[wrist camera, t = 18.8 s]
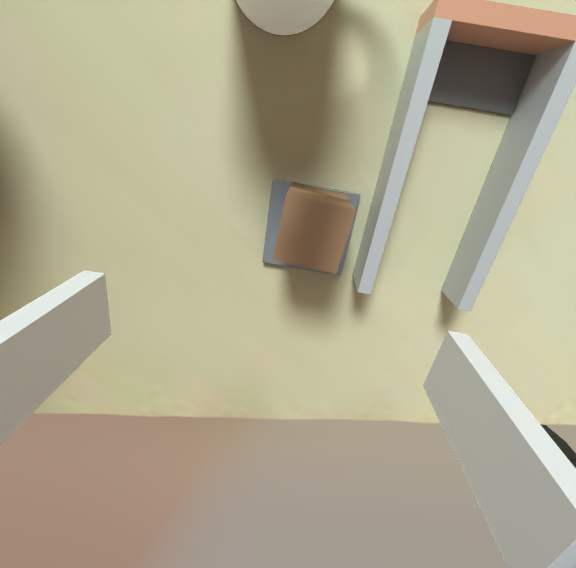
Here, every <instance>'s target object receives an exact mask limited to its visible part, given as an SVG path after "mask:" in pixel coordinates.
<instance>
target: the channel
mask: <svg viewBox="0 0 576 568" xmlns="http://www.w3.org/2000/svg"><path fill="white" fill-rule="evenodd" d="M575 84H576V16H575V15H569V14H563V13H557V12H551V11H545V10H539V9H533V8H527V7H521V6H515V5H509V4H503V3H497V2H491V1H485V0H434V1H433V2H432V3H431V5H430V6H429V7H428V8H427V9H426V10H425V12H424V13H423V14H422V15H421V17H420V20H419V24H418V28H417V32H416V36H415V39H414V43H413V47H412V51H411V55H410V58H409V62H408V66H407V70H406V74H405V78H404V81H403V85H402V89H401V93H400V97H399V100H398V104H397V108H396V112H395V116H394V120H393V123H392V127H391V131H390V135H389V139H388V142H387V146H386V150H385V154H384V158H383V161H382V165H381V169H380V173H379V177H378V181H377V184H376V188H375V192H374V196H373V200H372V203H371V207H370V211H369V215H368V219H367V222H366V226H365V230H364V234H363V238H362V242H361V245H360V249H359V253H358V257H357V261H356V264H355V268H354V272H353V278H354V282H355V285H356V289H357V292H359V293H365V294H371V291H372V288H373V285H374V281H375V278H376V275H377V271H378V268H379V265H380V261H381V258H382V254H383V251H384V248H385V244H386V241H387V238H388V234H389V231H390V228H391V224H392V221H393V217H394V214H395V211H396V207H397V204H398V201H399V197H400V194H401V191H402V187H403V184H404V180H405V177H406V174H407V170H408V167H409V164H410V160H411V157H412V154H413V150H414V147H415V143H416V140H417V137H418V133H419V130H420V127H421V123H422V120H423V117H424V113H425V110H426V106H427V103H428V101H430V102H436V103H442V104H448V105H454V106H460V107H466V108H471V109H477V110H483V111H489V112H495V113H501V114H507V115H512V116H511V118H510V121H509V123H508V126H507V128H506V131H505V133H504V136H503V138H502V141H501V143H500V146H499V148H498V151H497V153H496V156H495V158H494V161H493V163H492V166H491V168H490V170H489V173H488V175H487V178H486V180H485V183H484V185H483V188H482V190H481V193H480V195H479V198H478V200H477V203H476V205H475V208H474V210H473V213H472V215H471V218H470V220H469V223H468V225H467V228H466V230H465V233H464V235H463V238H462V240H461V243H460V245H459V248H458V250H457V253H456V255H455V257H454V260H453V262H452V265H451V267H450V270H449V272H448V275H447V277H446V280H445V282H444V285H443V287H442V290H441V291H442V292H443V293H444V294H445V295H446V296H447V298H448V299H449V300H450V301H451V302H452V303H453V305H454V306H455V307H456V308H457V309H458V310H464V311H470V312H471V310H472V307H473V305H474V303H475V301H476V299H477V297H478V294H479V292H480V290H481V288H482V286H483V283H484V281H485V279H486V277H487V275H488V273H489V270H490V268H491V266H492V264H493V262H494V260H495V257H496V255H497V253H498V251H499V249H500V247H501V244H502V242H503V240H504V238H505V236H506V234H507V231H508V229H509V227H510V225H511V223H512V221H513V218H514V216H515V214H516V212H517V210H518V208H519V205H520V203H521V201H522V199H523V197H524V195H525V192H526V190H527V188H528V186H529V184H530V182H531V179H532V177H533V175H534V173H535V171H536V169H537V166H538V164H539V162H540V160H541V158H542V156H543V153H544V151H545V149H546V147H547V145H548V143H549V140H550V138H551V136H552V134H553V132H554V130H555V127H556V125H557V123H558V121H559V119H560V117H561V114H562V112H563V110H564V108H565V106H566V104H567V101H568V99H569V97H570V95H571V93H572V91H573V88H574V86H575Z"/></svg>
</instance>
